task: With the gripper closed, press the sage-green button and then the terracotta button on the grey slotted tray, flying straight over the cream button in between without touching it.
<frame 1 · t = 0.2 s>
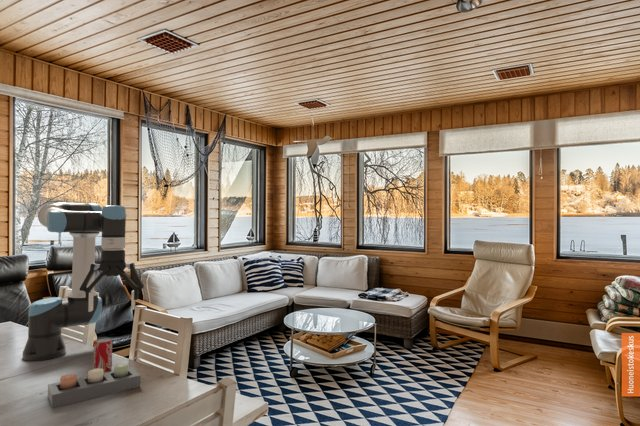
hand: (112, 310, 144), 27 cm above the table, fingers open, 13 cm apart
button rust: (68, 381, 134), point 6 cm above the table, slide at 0.0 cm
grey slotted tray: (95, 391, 139), on the table
button sage: (121, 370, 144), point 6 cm above the table, slide at 0.0 cm
beverage can: (102, 371, 157), on the table
button cream: (95, 375, 139), point 6 cm above the table, slide at 0.0 cm
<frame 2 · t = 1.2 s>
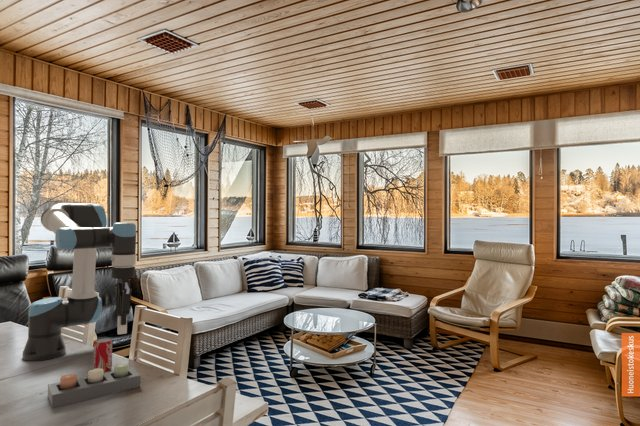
hand: (122, 333, 144), 18 cm above the table, fingers closed
nothing on the table moved.
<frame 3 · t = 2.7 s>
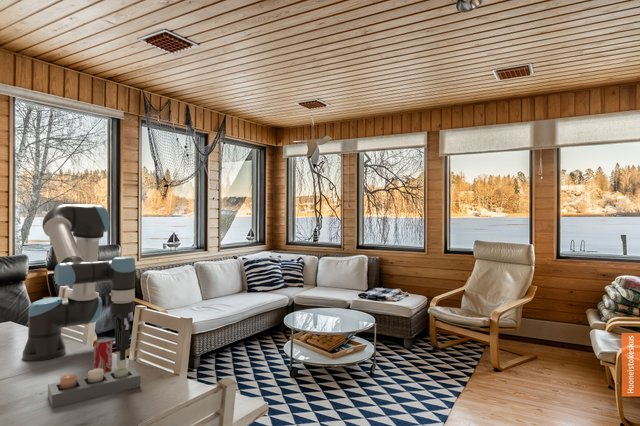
hand: (121, 368, 144), 6 cm above the table, fingers closed
button sage: (121, 373, 144), point 4 cm above the table, slide at 1.1 cm, touching gripper
everything else where it was.
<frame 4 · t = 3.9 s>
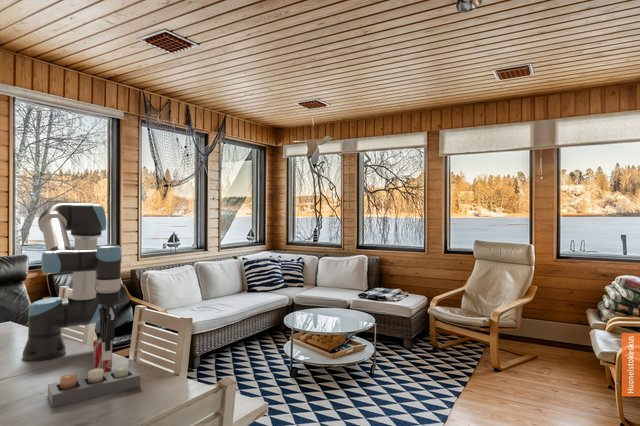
hand: (106, 359, 141), 10 cm above the table, fingers closed
button sage: (121, 373, 144), point 4 cm above the table, slide at 1.3 cm
everything else where it was.
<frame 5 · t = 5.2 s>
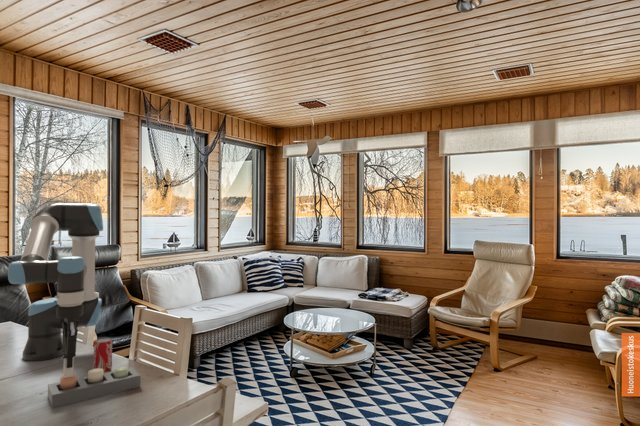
hand: (68, 376, 134), 7 cm above the table, fingers closed
button rust: (68, 381, 134), point 5 cm above the table, slide at 0.2 cm, touching gripper
everything else where it was.
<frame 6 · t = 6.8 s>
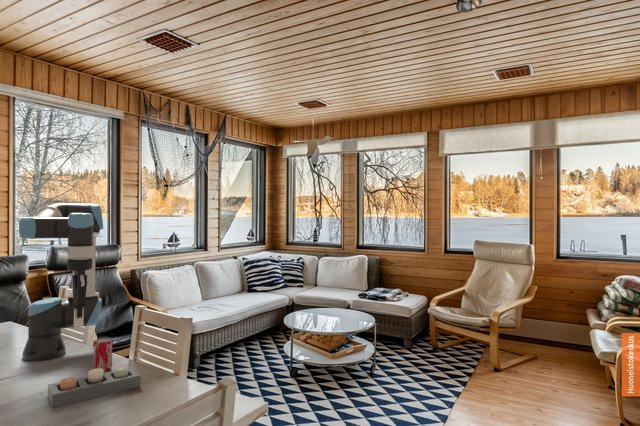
hand: (78, 326, 141), 21 cm above the table, fingers closed
button rust: (68, 385, 134), point 4 cm above the table, slide at 1.3 cm
everything else where it was.
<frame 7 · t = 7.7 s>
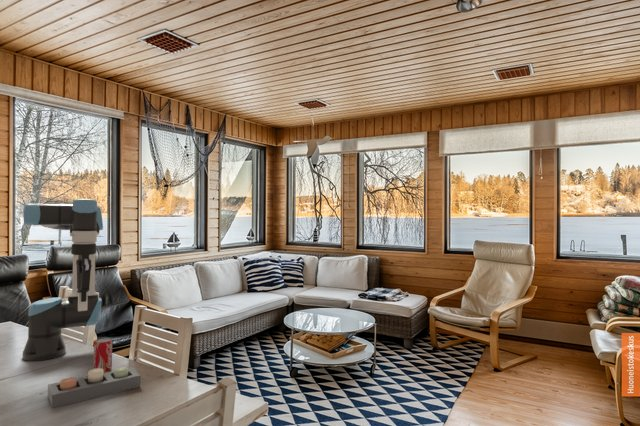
hand: (82, 310, 143), 26 cm above the table, fingers closed
nothing on the table moved.
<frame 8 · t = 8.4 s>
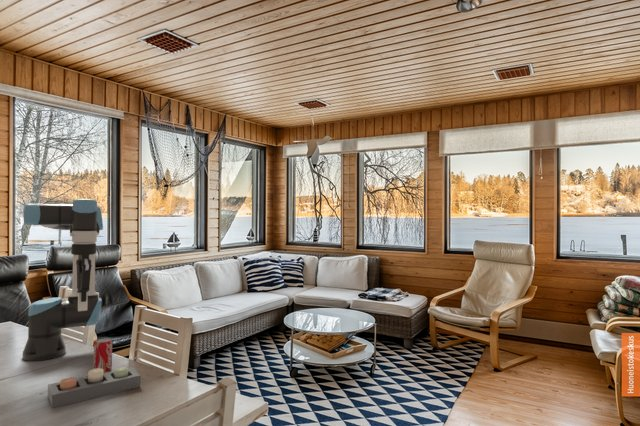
hand: (82, 310, 143), 26 cm above the table, fingers closed
nothing on the table moved.
at the end: button sage slide at 1.3 cm; button rust slide at 1.3 cm; button cream slide at 0.0 cm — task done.
